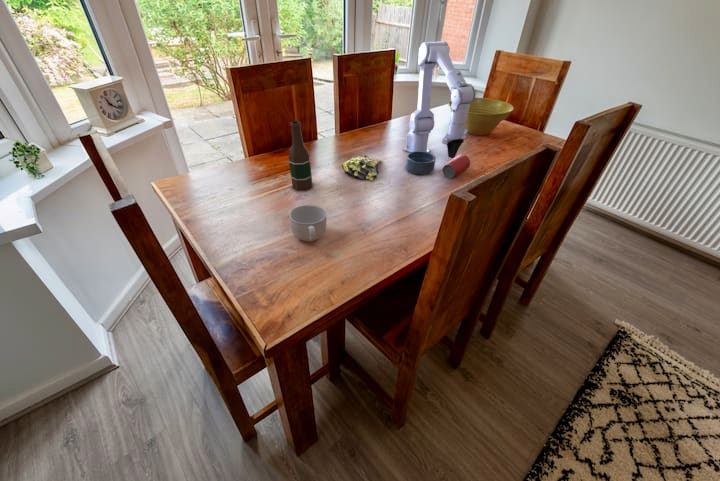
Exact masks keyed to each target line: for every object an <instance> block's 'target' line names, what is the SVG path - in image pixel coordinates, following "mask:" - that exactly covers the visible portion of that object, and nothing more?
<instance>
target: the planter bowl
mask: <svg viewBox="0 0 720 481" xmlns="http://www.w3.org/2000/svg"><path fill="white" fill-rule="evenodd" d="M451 104H452V102H451V100H450V101H448V102H447V105H448V106H449V108H450V112H451V113H452V109H451ZM514 110H515V107H514V106H513V105H512V104H511V103H508V102H506V101H503V100H500V99H494V98H488V97H487V98H486V97H475V99H474V101H473V102H472V103H470V106H469V111H468V116H467V120H466V125H465V129H466V130H468V133H467V135H473V136H485V135H488V134H489V133H492V132H493V131H495V129H496V128H497V127H498V125H499V124H500V123H501V122H502V121H505V120H506V119H507V118H508V117H509V116H510V115H511V113H513V111H514Z"/></svg>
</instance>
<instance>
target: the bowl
mask: <svg viewBox="0 0 720 481" xmlns="http://www.w3.org/2000/svg"><path fill="white" fill-rule="evenodd" d="M436 160H437V159H436V155H434V154H433V153H431V152H422V151H416V152H408V153H407V154H406V160H405V169H406V171H408V172H409V173H412V174H415V175H429V174H431V173H433V172H434V171H435V166H436Z"/></svg>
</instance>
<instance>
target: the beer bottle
mask: <svg viewBox="0 0 720 481" xmlns="http://www.w3.org/2000/svg"><path fill="white" fill-rule="evenodd" d="M289 127H290V129H291V130H290V131H291V147H290V148H289V153H288V163H289V171H290V178H291V186H292V188H293V190H296V191H299V192H301V191H308V190H310V189H312V187H313V175H312V174H313V173H312V166H311V164H312V163H311V157H310V155H311V154H310V151H309V149H308V148H307V147H306V145H305V143H304V140H303V134H302V129H301V128H302V123H301V122H300V121H298V120H293V121H290V124H289Z"/></svg>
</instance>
